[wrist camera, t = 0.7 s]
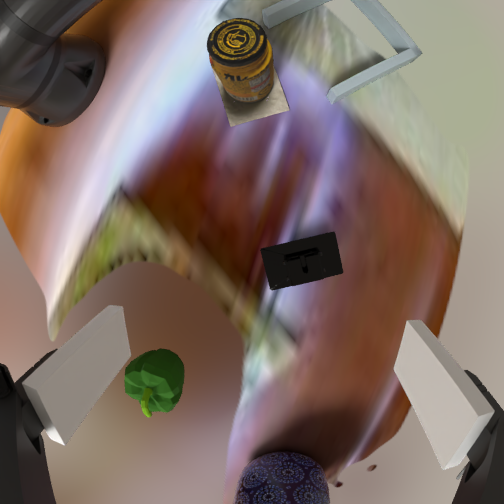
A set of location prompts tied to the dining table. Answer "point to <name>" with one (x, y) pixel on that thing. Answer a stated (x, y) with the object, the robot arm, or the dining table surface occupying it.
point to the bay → (408, 51)
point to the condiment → (245, 71)
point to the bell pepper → (155, 380)
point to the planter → (282, 481)
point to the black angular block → (302, 261)
